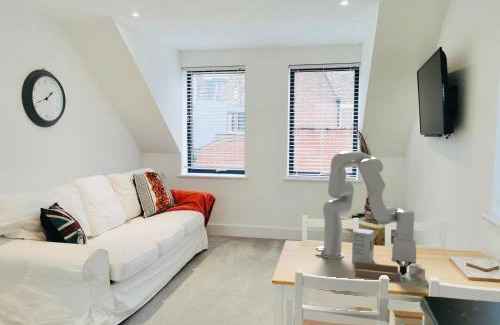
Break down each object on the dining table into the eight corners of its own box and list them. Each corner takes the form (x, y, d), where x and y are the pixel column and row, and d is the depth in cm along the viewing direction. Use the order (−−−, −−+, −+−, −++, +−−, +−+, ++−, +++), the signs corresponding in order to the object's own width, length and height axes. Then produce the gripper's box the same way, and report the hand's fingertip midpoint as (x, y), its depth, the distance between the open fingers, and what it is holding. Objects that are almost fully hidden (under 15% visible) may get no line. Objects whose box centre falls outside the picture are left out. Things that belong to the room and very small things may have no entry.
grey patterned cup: (410, 280, 164) (410, 267, 163) (408, 275, 169) (409, 263, 169) (424, 282, 162) (425, 269, 161) (422, 277, 167) (423, 264, 167)
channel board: (355, 278, 167) (355, 270, 167) (355, 267, 181) (355, 260, 180) (429, 286, 158) (430, 278, 158) (423, 274, 172) (424, 267, 172)
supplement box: (369, 266, 183) (370, 234, 181) (351, 262, 188) (352, 231, 186) (373, 260, 191) (374, 230, 189) (356, 257, 196) (357, 227, 194)
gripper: (388, 237, 165) (386, 275, 166) (423, 240, 161) (421, 279, 162) (386, 232, 172) (385, 269, 173) (420, 235, 168) (418, 273, 169)
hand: (403, 274), depth 168 cm, fingers closed
